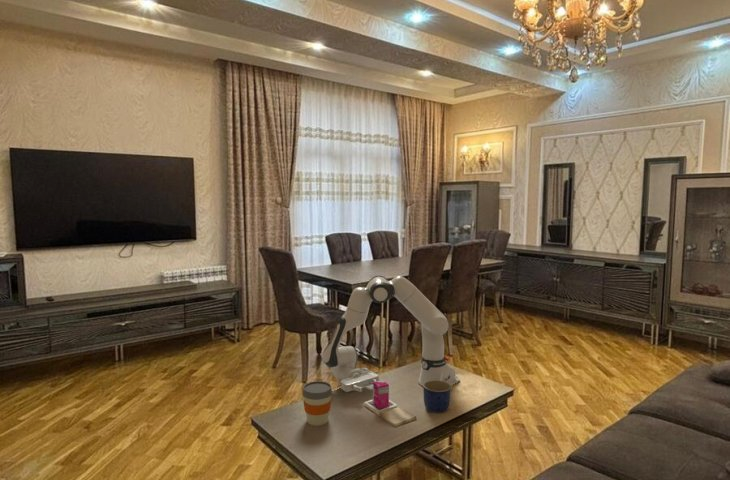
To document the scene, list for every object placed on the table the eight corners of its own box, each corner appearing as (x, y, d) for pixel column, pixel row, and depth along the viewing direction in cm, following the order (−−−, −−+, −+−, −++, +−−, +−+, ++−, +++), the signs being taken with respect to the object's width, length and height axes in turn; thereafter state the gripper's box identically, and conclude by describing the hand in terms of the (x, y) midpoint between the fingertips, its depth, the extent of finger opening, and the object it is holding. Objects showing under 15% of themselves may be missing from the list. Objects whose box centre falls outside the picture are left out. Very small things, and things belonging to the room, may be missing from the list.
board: (399, 408, 203) (399, 406, 203) (416, 418, 194) (416, 416, 194) (379, 416, 196) (379, 413, 196) (395, 426, 187) (395, 424, 187)
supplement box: (372, 405, 206) (372, 381, 205) (383, 403, 208) (384, 379, 207) (377, 410, 201) (377, 386, 200) (389, 408, 203) (389, 384, 202)
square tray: (382, 399, 212) (382, 396, 212) (397, 408, 203) (397, 405, 203) (364, 405, 206) (364, 402, 206) (378, 414, 197) (378, 411, 197)
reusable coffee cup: (337, 417, 194) (337, 384, 193) (320, 430, 183) (320, 395, 182) (314, 410, 201) (314, 378, 199) (296, 422, 190) (296, 389, 188)
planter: (455, 412, 200) (456, 388, 199) (431, 417, 195) (432, 393, 194) (441, 400, 211) (441, 378, 210) (418, 404, 207) (418, 382, 206)
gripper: (335, 376, 216) (351, 386, 205) (369, 367, 228) (385, 376, 217) (335, 388, 217) (351, 399, 206) (369, 379, 229) (385, 388, 218)
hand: (369, 387), depth 212 cm, fingers open, 8 cm apart
